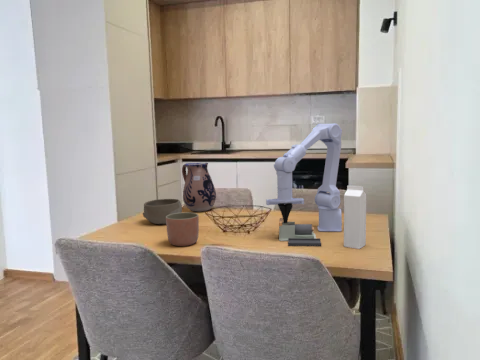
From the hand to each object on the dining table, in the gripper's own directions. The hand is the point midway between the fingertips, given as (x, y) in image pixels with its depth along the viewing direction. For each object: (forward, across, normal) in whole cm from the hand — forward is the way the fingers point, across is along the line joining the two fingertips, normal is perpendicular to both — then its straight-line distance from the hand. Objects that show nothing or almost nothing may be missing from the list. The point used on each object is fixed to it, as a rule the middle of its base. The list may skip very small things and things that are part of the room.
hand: (285, 222), depth 167 cm
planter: (+6, +40, +3) cm, 40 cm away
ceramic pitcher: (+6, +39, -62) cm, 73 cm away
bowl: (+6, +53, -35) cm, 64 cm away
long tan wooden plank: (0, +2, 0) cm, 2 cm away
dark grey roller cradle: (+6, -6, +9) cm, 12 cm away
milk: (+6, -23, +14) cm, 28 cm away
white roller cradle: (+6, -5, +1) cm, 8 cm away
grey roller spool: (+3, -6, +1) cm, 6 cm away
